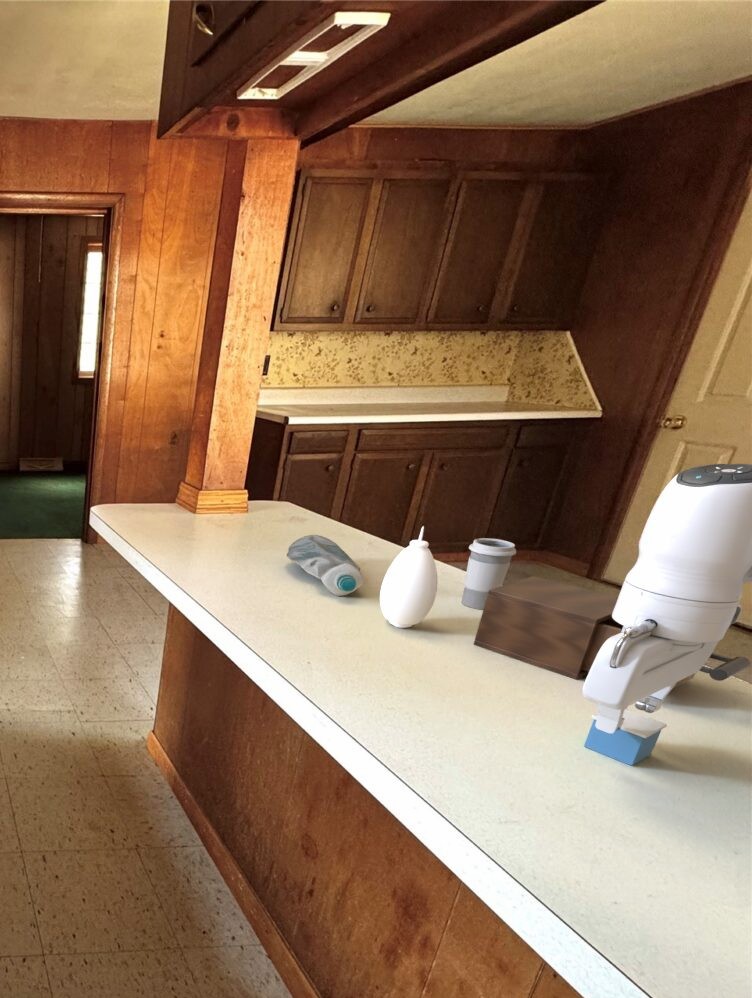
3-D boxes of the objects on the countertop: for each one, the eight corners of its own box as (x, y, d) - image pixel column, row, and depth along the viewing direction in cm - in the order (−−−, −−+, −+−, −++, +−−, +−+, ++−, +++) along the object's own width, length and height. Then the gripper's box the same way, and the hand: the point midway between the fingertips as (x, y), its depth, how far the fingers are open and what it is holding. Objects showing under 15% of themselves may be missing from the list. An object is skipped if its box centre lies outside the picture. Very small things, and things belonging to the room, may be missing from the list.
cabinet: (619, 660, 101) (641, 602, 97) (575, 679, 96) (597, 619, 92) (516, 628, 112) (533, 575, 109) (473, 644, 107) (488, 589, 104)
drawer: (742, 693, 89) (766, 641, 86) (704, 714, 85) (728, 660, 82) (584, 645, 104) (600, 599, 101) (544, 661, 100) (560, 613, 97)
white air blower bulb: (427, 638, 110) (453, 534, 103) (372, 629, 114) (394, 529, 107) (426, 622, 116) (451, 523, 109) (374, 614, 120) (395, 518, 113)
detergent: (278, 560, 149) (303, 598, 126) (285, 529, 146) (312, 562, 124) (341, 567, 146) (379, 608, 124) (350, 536, 143) (390, 572, 121)
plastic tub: (654, 755, 79) (667, 724, 77) (633, 767, 77) (646, 735, 75) (601, 735, 83) (612, 704, 81) (580, 746, 81) (591, 715, 79)
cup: (467, 595, 127) (483, 535, 122) (507, 606, 121) (526, 544, 117) (446, 603, 124) (462, 541, 119) (486, 614, 118) (505, 550, 114)
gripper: (664, 642, 67) (616, 757, 72) (750, 605, 75) (701, 710, 80) (586, 620, 72) (547, 729, 77) (674, 588, 80) (633, 688, 85)
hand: (626, 719), depth 78 cm, fingers open, 8 cm apart
